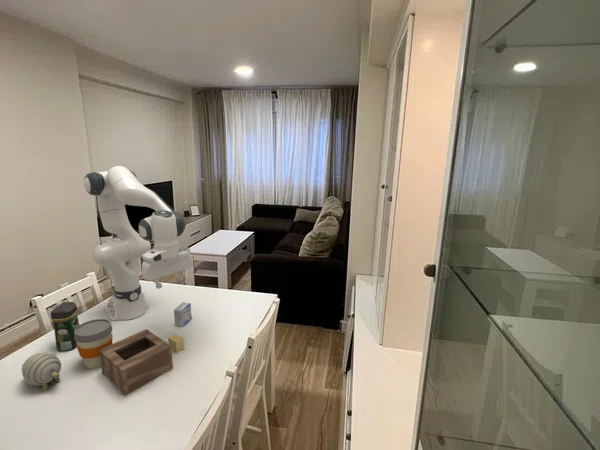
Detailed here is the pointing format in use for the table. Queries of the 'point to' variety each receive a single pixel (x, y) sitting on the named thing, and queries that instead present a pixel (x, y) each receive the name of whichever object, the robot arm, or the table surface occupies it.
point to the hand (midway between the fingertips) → (170, 283)
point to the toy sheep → (41, 369)
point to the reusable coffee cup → (93, 340)
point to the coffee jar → (65, 325)
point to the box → (136, 360)
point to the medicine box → (182, 314)
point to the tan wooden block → (176, 343)
